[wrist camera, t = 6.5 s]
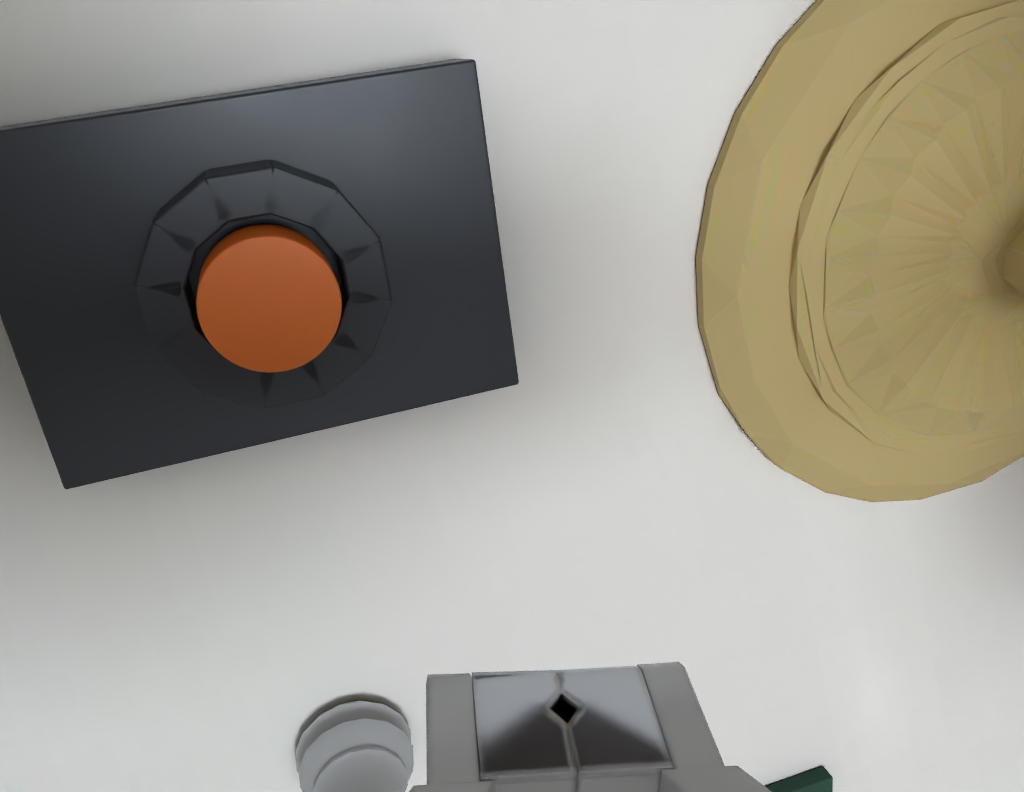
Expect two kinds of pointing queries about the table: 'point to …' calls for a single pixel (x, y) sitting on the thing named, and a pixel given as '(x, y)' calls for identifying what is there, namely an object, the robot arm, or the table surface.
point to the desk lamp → (875, 248)
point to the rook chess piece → (356, 750)
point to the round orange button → (268, 299)
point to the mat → (805, 782)
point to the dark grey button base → (229, 207)
